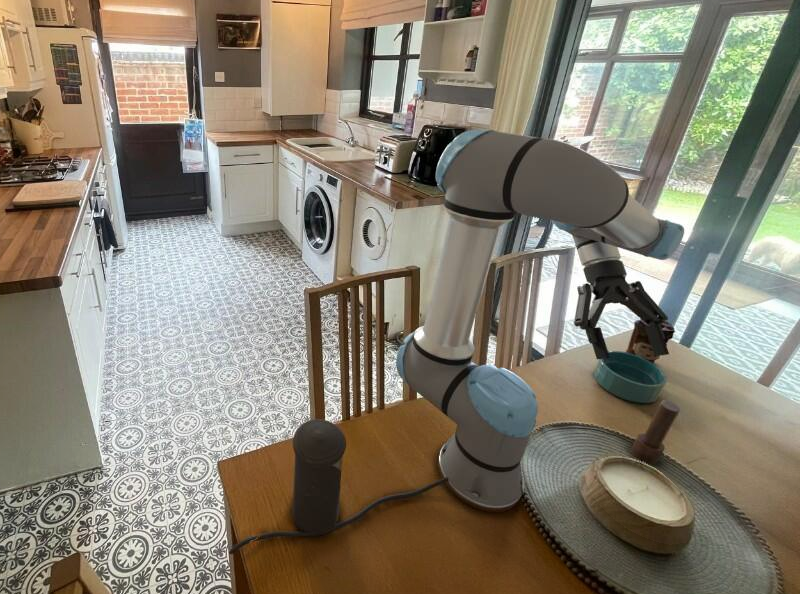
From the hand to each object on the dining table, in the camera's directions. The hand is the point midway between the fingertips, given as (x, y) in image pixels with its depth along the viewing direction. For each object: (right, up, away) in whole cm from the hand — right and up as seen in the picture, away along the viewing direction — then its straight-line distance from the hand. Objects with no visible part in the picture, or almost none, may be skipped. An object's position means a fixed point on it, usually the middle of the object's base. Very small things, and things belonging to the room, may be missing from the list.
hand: (632, 357), depth 88 cm
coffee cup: (+23, -8, +25) cm, 35 cm away
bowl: (+12, -12, +17) cm, 23 cm away
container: (-69, -26, -13) cm, 75 cm away
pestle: (+1, -20, -2) cm, 20 cm away
